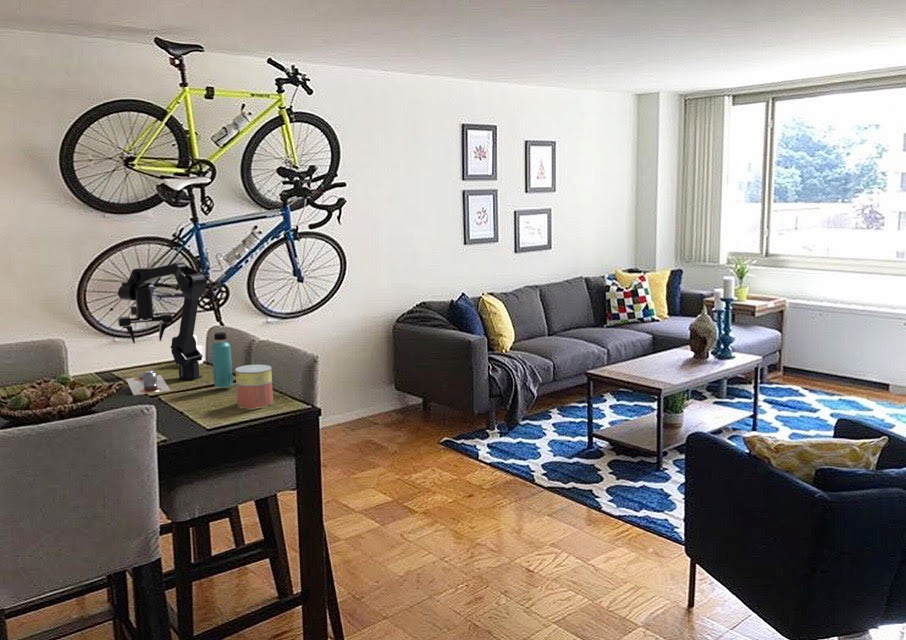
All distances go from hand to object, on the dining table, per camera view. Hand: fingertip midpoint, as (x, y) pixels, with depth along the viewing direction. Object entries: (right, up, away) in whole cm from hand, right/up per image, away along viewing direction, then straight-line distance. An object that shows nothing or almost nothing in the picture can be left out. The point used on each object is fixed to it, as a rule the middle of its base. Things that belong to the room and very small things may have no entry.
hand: (147, 342), depth 289 cm
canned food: (+51, -19, -41) cm, 69 cm away
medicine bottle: (+11, -10, +16) cm, 22 cm away
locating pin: (+10, -16, -23) cm, 30 cm away
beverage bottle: (+35, -16, -22) cm, 45 cm away
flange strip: (+6, -15, -15) cm, 22 cm away
